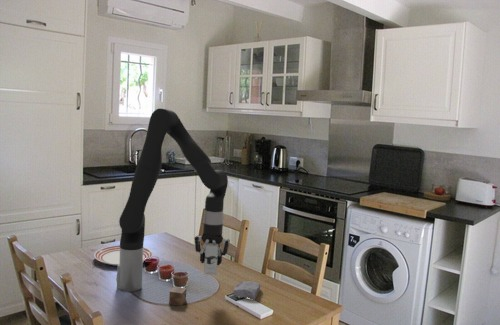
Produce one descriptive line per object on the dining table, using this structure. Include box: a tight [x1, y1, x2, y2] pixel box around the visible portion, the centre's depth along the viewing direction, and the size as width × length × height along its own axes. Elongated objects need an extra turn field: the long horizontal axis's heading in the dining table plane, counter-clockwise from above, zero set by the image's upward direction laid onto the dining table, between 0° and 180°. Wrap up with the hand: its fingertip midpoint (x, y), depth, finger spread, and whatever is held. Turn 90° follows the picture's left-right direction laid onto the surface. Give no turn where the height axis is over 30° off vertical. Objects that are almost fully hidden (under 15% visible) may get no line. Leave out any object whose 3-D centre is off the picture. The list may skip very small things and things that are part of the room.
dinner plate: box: [93, 244, 154, 267], centre depth 215 cm, size 27×27×3 cm
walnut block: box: [168, 286, 187, 307], centre depth 171 cm, size 5×5×5 cm
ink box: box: [203, 243, 218, 276], centre depth 173 cm, size 8×5×12 cm, turn 5°
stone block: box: [233, 280, 261, 301], centre depth 183 cm, size 12×5×10 cm
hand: (210, 263), depth 173 cm, fingers closed on ink box, 5 cm apart
